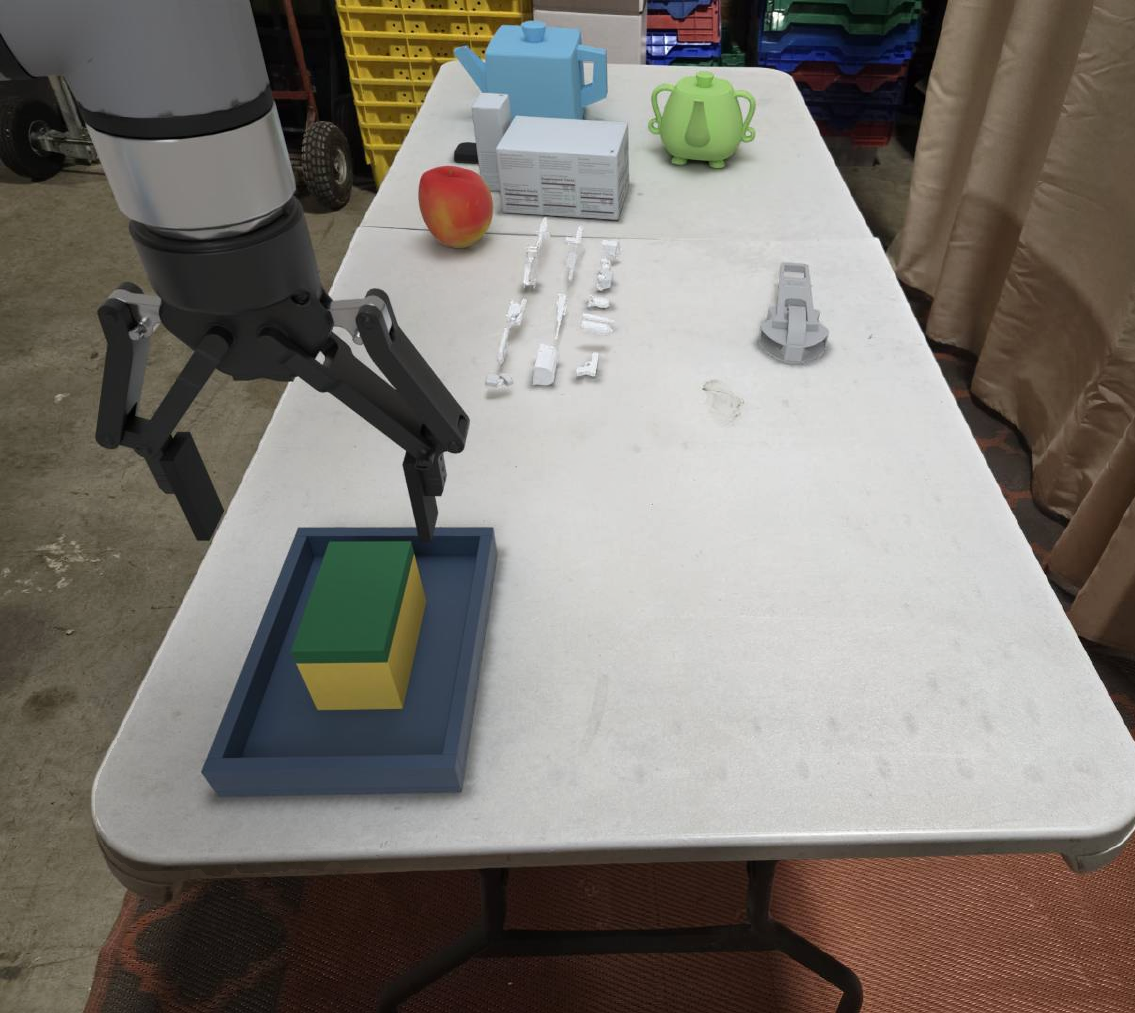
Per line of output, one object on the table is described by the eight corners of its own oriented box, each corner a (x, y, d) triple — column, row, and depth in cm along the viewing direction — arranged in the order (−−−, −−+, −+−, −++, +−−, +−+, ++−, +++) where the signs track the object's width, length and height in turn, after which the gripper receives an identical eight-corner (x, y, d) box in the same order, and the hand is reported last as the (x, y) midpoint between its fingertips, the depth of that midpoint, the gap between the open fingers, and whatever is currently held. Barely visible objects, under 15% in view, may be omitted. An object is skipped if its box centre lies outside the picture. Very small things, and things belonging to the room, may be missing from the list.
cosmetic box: (489, 174, 129) (480, 91, 121) (517, 176, 129) (509, 93, 121) (480, 190, 125) (470, 106, 117) (509, 192, 125) (500, 108, 117)
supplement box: (629, 184, 129) (630, 120, 122) (618, 222, 119) (618, 155, 113) (520, 176, 129) (515, 112, 123) (501, 213, 120) (493, 146, 113)
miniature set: (533, 236, 113) (622, 253, 115) (484, 405, 89) (597, 424, 91) (536, 191, 108) (630, 210, 110) (485, 358, 85) (605, 379, 86)
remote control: (552, 159, 136) (459, 149, 136) (552, 147, 135) (458, 138, 134) (547, 171, 132) (452, 161, 132) (547, 159, 131) (451, 150, 131)
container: (603, 144, 140) (601, 42, 129) (453, 136, 140) (438, 33, 129) (611, 108, 152) (610, 12, 142) (472, 101, 152) (461, 4, 141)
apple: (484, 263, 109) (475, 188, 102) (413, 256, 110) (399, 180, 103) (504, 230, 116) (497, 157, 109) (437, 224, 117) (425, 151, 110)
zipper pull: (821, 287, 108) (827, 256, 105) (827, 366, 95) (833, 334, 92) (760, 282, 109) (764, 251, 106) (757, 360, 96) (762, 328, 93)
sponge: (403, 709, 60) (383, 650, 55) (317, 710, 60) (290, 651, 55) (426, 601, 68) (411, 540, 63) (350, 601, 67) (328, 541, 62)
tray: (461, 792, 57) (454, 767, 54) (217, 797, 56) (200, 772, 54) (497, 553, 73) (493, 526, 70) (308, 554, 72) (297, 527, 69)
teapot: (766, 168, 136) (776, 84, 127) (692, 184, 130) (697, 97, 121) (711, 134, 145) (717, 54, 137) (640, 147, 140) (641, 64, 131)
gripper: (493, 181, 43) (522, 489, 57) (-23, 162, 41) (142, 484, 56) (474, 250, 37) (512, 570, 52) (-122, 232, 36) (90, 569, 50)
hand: (321, 527), depth 54 cm, fingers open, 13 cm apart
